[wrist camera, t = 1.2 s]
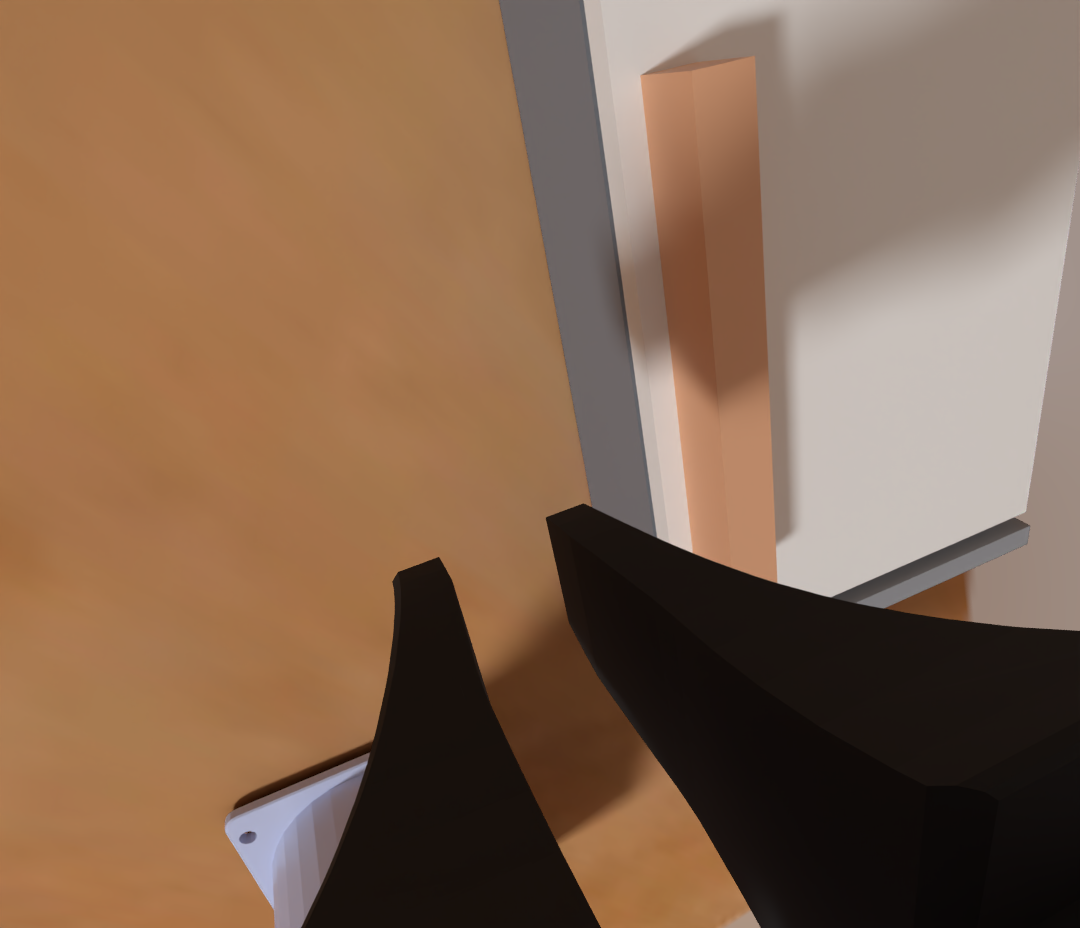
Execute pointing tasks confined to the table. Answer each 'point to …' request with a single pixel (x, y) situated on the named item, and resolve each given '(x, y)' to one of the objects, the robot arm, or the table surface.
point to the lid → (838, 266)
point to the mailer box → (597, 292)
